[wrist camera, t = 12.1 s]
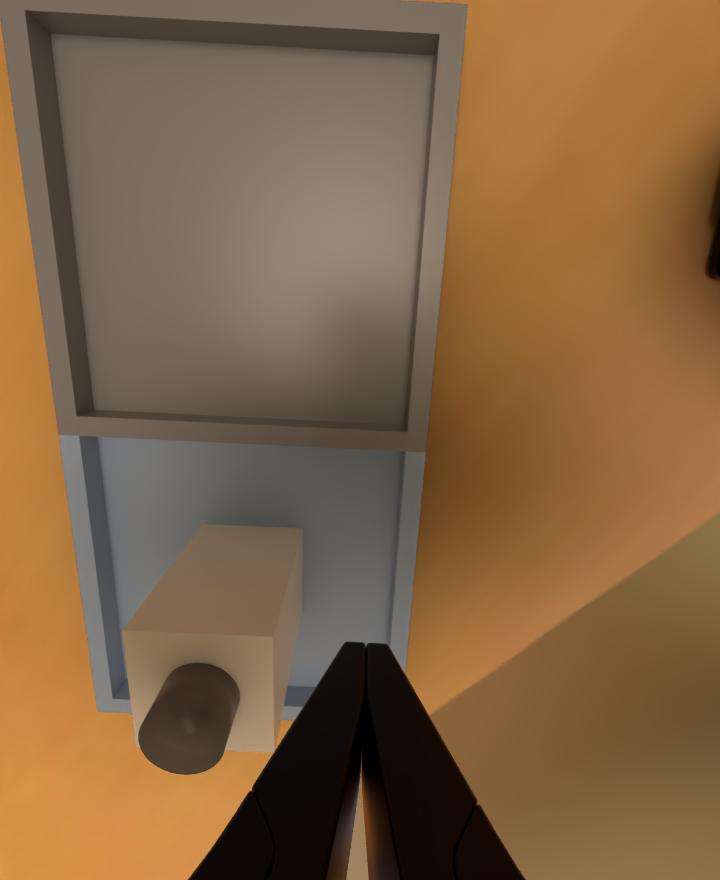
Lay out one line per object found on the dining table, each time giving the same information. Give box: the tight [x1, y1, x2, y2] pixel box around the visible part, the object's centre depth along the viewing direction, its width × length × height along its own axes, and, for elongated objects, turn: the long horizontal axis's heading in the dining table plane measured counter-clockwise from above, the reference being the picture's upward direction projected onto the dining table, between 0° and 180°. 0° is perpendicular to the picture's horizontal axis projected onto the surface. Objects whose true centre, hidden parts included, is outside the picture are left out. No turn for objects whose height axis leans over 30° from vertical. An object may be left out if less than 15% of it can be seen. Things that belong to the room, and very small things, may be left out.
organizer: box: [0, 0, 468, 720], centre depth 18 cm, size 15×28×2 cm, turn 177°
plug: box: [122, 524, 303, 775], centre depth 16 cm, size 4×4×9 cm
